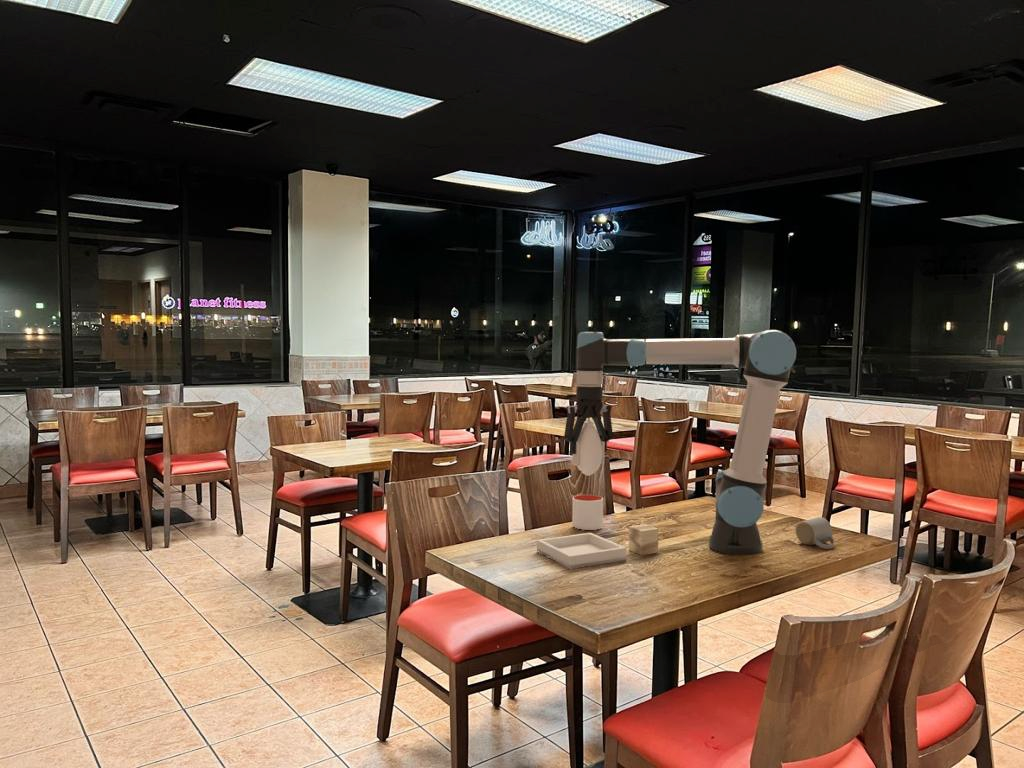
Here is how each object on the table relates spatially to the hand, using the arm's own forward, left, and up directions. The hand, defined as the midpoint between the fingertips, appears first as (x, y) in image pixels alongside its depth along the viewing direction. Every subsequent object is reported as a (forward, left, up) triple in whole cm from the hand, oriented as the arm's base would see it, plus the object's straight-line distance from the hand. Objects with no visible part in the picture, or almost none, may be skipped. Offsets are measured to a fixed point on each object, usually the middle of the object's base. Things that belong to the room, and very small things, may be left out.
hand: (588, 464), depth 213 cm
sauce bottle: (0, 0, -3) cm, 3 cm away
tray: (-3, +4, -26) cm, 26 cm away
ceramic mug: (-25, -66, -26) cm, 75 cm away
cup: (+23, -15, -26) cm, 38 cm away
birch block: (-7, -15, -26) cm, 30 cm away
